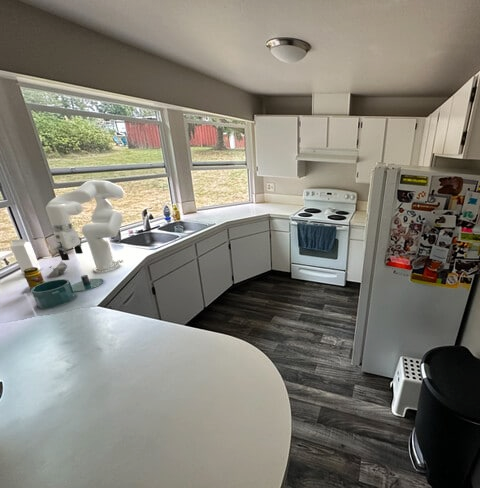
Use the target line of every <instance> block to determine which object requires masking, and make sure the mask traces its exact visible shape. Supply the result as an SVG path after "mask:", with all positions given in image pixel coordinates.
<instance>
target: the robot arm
mask: <svg viewBox="0 0 480 488" xmlns="http://www.w3.org/2000/svg"><path fill="white" fill-rule="evenodd" d="M124 196H125V190H124V188H123V187H122V186H120V185H118V184H116V183H114V182H111V181H109V180H95V179H94V180H87V181H85V182H84V183H83V184H81V185H80V186H78V187H77V188H76V189H75V190H71V191H67V192H66V193H63V194H59V195H57V196H55V197H54V198H52V199H50V201H48V203H47V204H46V206H45V211H46V214H47V217H48V219H49V222H50V225H51V228H52V230H53V237H54V238H53V239H54V241H55V245H54V247H53V250H54V251H55V253H57V254H58V255H59V256H60V259H61V261H70V257H69V254H68V253H67V251H68V250H70V249H74V252H75V254H76V255H79V254H80V255H81V254H83V253H84V252H83V248H82V237H79V234H78V232H77V230H76V228H74V227H73V223H72V221H71V218H70V216H77V215H80V214H81V213H82V212H83V211H84V206H83V204H86V203H89V202H91V201H92V200H93V199H94V200H95V202H96V203H95V204H96V205H95V208H94V210H93V212H92V214H91V217H90V220H91V222H90V223H86V224H84V225H82V227H81V233H82V235H83V236H84V238H85V240H86V243H87V244H88V247H89V250H90V253H91V256H92V259H93V263H94V265H95V268H94V269H93V272H94V273H107V272H110V271H113V270H116V269H117V268H118V267H119V264H122V263H124V259H116V260H115V259H114V257H113V253H112V251H111V247H110V243H109V241H108V240H107V239H106V238H115V237H117V235H118V234H119V231H120V230H121V226H122V223H123V219H124V217H123V214H122V212H121V211H119V210H117V209H114V206H113V204H112V203H111V202H110V201H109V200H113V199H114V200H117V199H122V198H123V197H124Z"/></svg>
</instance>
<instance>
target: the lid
mask: <svg viewBox="0 0 480 488" xmlns="http://www.w3.org/2000/svg"><path fill="white" fill-rule="evenodd" d="M80 279H81V281H78V282H76V283H74V284H71V286H72V289H73V292H74V293H78V292H79V293H80V292H85V291H90V290H92V289H95V288H98V287H100V286H102V285H103V284H104V279H103V278H96V277H95V278H89V275H88V274H83V275H81V276H80Z"/></svg>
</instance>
